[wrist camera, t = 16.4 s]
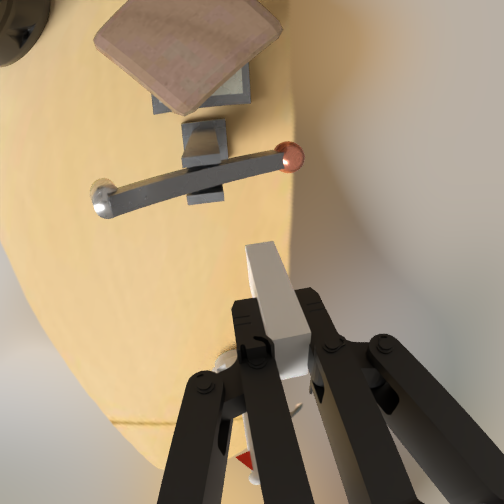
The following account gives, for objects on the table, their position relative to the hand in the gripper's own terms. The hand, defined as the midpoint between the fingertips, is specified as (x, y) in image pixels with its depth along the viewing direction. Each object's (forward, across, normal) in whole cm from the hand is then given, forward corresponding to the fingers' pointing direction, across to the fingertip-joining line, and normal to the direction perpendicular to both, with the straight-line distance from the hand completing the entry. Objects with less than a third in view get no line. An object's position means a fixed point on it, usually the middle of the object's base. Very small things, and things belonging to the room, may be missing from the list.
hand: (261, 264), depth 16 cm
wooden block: (+27, -2, +14) cm, 31 cm away
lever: (+15, -4, +2) cm, 15 cm away
